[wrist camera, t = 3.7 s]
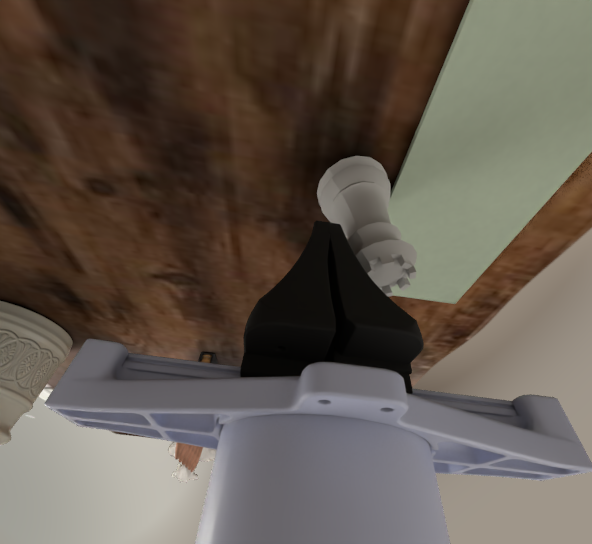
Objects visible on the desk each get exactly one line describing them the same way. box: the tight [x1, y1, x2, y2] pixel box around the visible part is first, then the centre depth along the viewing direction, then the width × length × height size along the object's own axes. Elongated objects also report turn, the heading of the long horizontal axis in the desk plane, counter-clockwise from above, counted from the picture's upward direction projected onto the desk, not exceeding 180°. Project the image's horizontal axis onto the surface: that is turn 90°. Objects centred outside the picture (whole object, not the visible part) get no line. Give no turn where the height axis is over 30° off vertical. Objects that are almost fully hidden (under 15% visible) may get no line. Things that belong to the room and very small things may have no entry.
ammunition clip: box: [175, 352, 218, 472], centre depth 37 cm, size 11×2×12 cm, turn 175°
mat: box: [387, 0, 592, 304], centre depth 18 cm, size 20×10×1 cm, turn 173°
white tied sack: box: [168, 442, 217, 483], centre depth 66 cm, size 12×8×11 cm
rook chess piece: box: [317, 156, 417, 296], centre depth 15 cm, size 4×4×8 cm
